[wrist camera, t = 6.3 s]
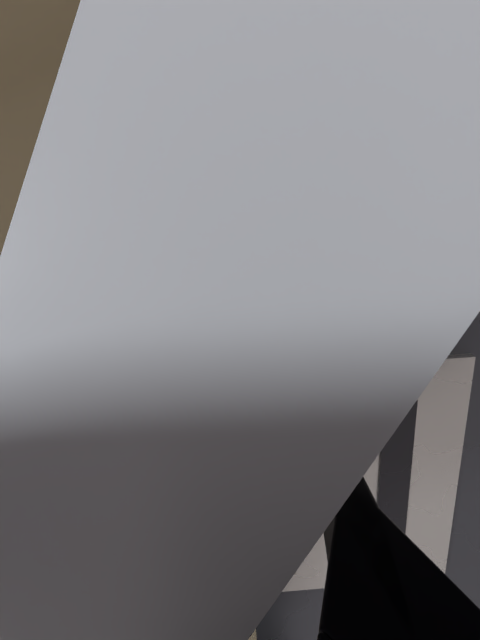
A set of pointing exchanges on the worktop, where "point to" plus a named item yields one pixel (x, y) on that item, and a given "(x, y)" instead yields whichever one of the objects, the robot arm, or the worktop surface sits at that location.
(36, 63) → the worktop surface
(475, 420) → the label board
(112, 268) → the swing arm
